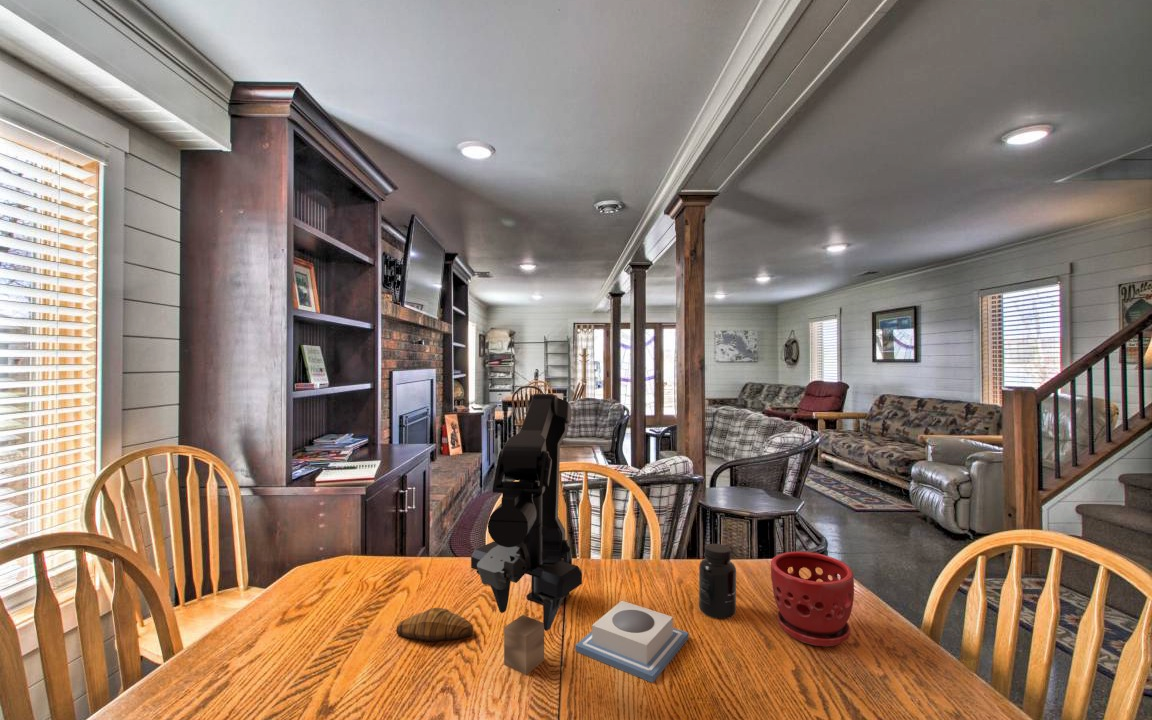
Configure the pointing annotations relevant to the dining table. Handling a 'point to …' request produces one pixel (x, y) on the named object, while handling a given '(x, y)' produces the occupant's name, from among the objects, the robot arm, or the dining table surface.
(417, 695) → the dining table surface
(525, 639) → the walnut block
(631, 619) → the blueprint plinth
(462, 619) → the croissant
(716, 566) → the supplement bottle
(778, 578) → the plant pot
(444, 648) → the dining table surface
